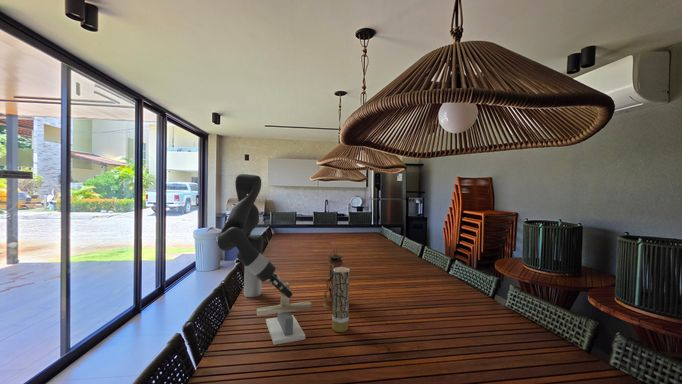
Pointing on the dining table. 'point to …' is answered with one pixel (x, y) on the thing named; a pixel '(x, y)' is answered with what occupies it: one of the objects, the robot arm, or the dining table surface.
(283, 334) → the ridge stand
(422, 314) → the dining table surface
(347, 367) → the dining table surface
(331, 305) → the lantern
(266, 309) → the birch T-bar
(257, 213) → the robot arm
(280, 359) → the dining table surface
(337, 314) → the bark print canister
